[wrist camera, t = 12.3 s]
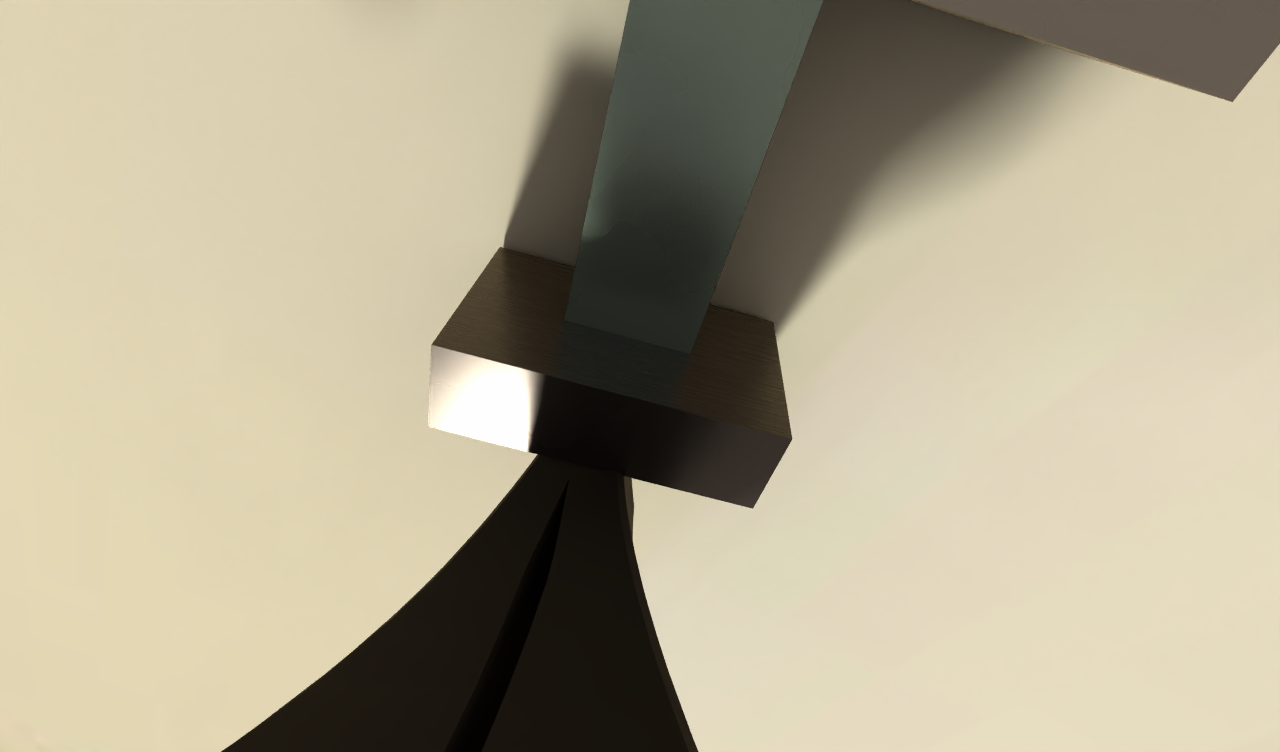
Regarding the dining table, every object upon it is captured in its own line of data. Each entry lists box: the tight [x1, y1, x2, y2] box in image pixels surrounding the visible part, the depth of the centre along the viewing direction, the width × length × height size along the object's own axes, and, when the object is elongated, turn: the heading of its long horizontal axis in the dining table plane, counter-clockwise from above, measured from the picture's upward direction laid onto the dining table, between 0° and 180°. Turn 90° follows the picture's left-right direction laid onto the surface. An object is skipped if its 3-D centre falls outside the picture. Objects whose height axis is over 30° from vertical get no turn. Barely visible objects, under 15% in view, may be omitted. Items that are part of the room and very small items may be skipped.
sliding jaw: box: [428, 0, 1280, 508], centre depth 7 cm, size 10×9×3 cm
